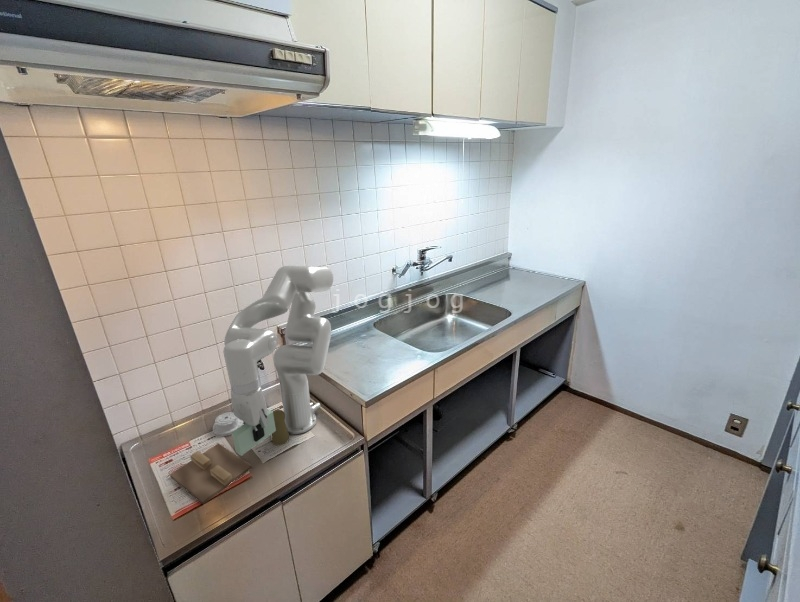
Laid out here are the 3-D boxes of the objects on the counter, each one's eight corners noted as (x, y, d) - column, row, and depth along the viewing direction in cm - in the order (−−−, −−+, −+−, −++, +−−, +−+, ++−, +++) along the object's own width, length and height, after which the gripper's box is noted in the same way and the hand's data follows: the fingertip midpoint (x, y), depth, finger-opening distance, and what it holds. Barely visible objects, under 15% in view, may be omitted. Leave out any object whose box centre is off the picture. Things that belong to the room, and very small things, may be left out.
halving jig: (219, 445, 126) (217, 438, 125) (252, 467, 117) (250, 460, 116) (170, 476, 113) (168, 469, 112) (203, 504, 104) (201, 496, 103)
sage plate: (270, 427, 114) (267, 409, 111) (276, 430, 113) (272, 411, 110) (235, 452, 105) (231, 432, 102) (241, 455, 103) (237, 436, 101)
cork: (270, 435, 130) (266, 409, 127) (288, 431, 133) (284, 405, 129) (272, 447, 125) (267, 420, 121) (290, 442, 127) (286, 415, 124)
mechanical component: (206, 434, 131) (232, 438, 130) (204, 424, 130) (229, 428, 128) (224, 417, 141) (248, 420, 139) (222, 407, 139) (246, 410, 137)
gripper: (215, 381, 102) (228, 433, 109) (252, 400, 94) (263, 456, 101) (239, 368, 108) (249, 419, 115) (276, 385, 100) (284, 439, 107)
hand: (256, 436), depth 108 cm, fingers closed on sage plate, 2 cm apart
